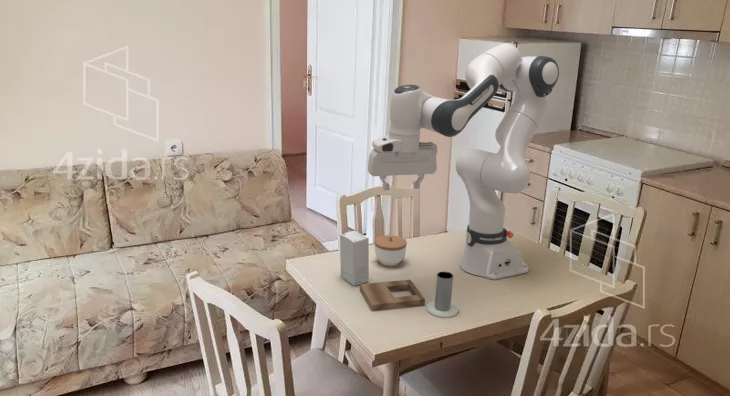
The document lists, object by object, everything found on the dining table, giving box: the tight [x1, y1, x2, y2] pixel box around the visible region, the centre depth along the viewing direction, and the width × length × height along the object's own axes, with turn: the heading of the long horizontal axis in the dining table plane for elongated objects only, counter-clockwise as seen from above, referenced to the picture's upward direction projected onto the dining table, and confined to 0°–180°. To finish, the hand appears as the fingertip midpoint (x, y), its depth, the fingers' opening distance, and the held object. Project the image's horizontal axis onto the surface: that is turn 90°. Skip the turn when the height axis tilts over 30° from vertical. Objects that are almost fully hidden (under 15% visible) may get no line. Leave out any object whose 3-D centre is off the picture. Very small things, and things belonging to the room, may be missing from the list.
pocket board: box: [359, 279, 426, 312], centre depth 176 cm, size 16×13×2 cm
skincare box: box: [339, 230, 370, 287], centre depth 185 cm, size 8×6×15 cm
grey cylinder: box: [434, 271, 454, 311], centre depth 169 cm, size 4×4×10 cm
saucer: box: [426, 299, 459, 319], centre depth 170 cm, size 9×9×1 cm
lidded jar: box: [374, 234, 408, 267], centre depth 199 cm, size 11×11×9 cm
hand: (401, 188), depth 175 cm, fingers open, 8 cm apart
